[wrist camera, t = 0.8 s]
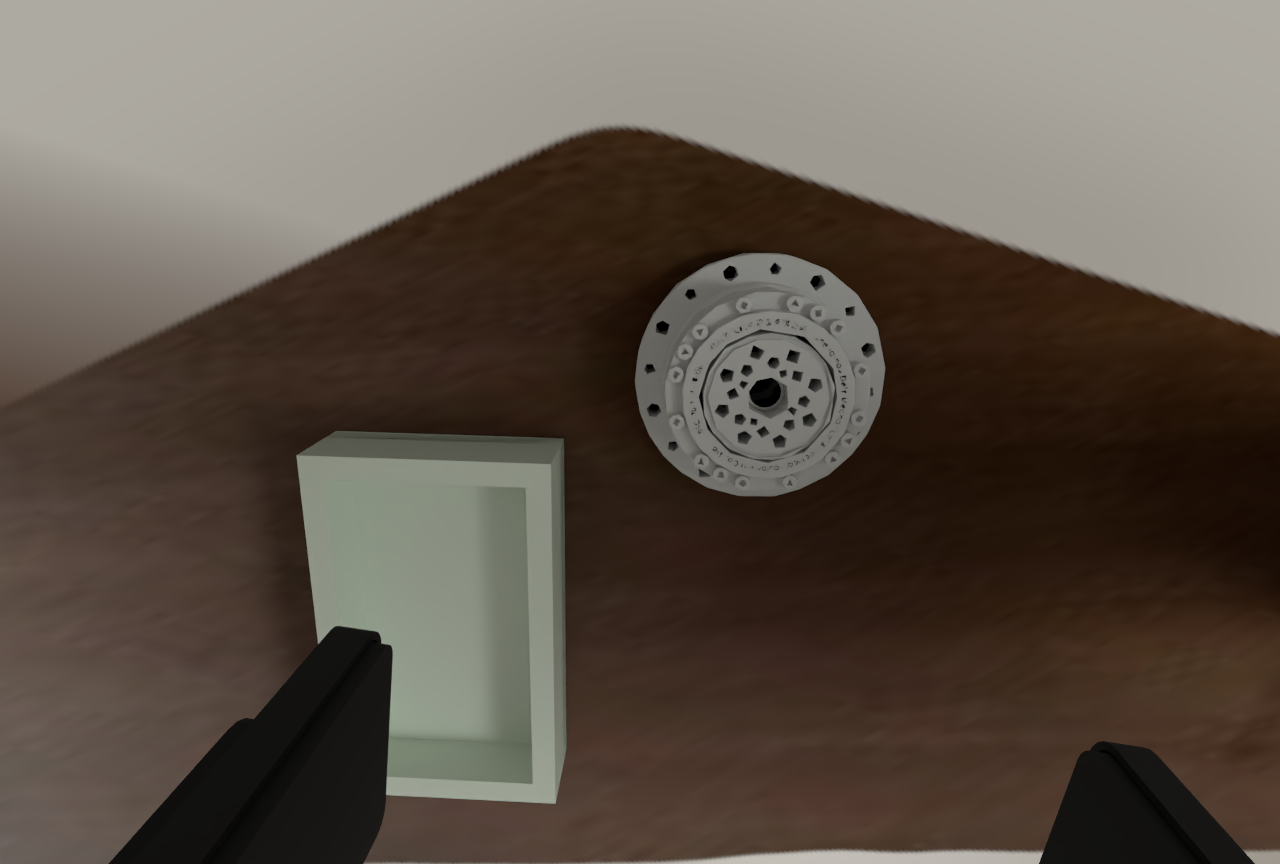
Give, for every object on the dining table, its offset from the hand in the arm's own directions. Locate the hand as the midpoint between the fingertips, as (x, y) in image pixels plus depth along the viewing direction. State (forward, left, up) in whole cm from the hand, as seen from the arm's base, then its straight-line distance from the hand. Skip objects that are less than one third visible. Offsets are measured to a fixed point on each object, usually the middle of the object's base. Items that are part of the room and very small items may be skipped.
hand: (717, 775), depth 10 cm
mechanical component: (-3, -1, -22) cm, 22 cm away
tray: (+10, +10, -22) cm, 26 cm away
